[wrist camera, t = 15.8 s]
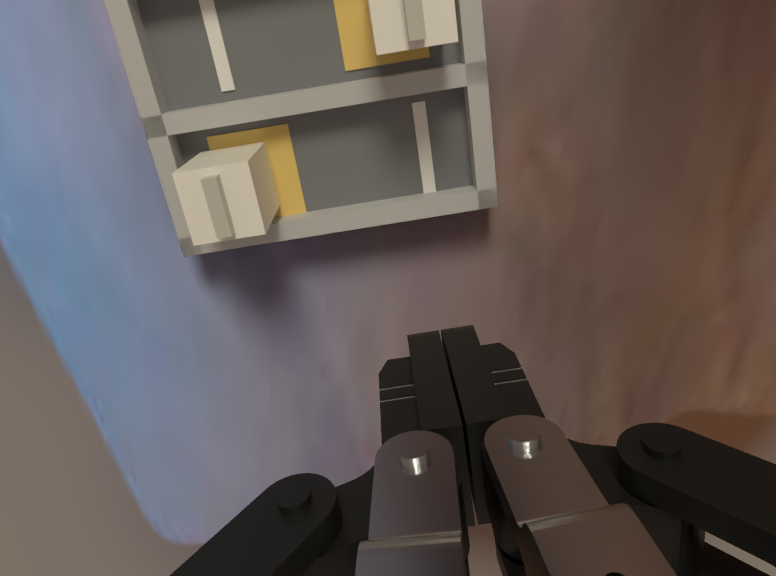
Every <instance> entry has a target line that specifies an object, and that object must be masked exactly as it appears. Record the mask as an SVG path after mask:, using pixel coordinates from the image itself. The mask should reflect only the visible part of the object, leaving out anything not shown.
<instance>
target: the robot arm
mask: <svg viewBox="0 0 776 576" xmlns="http://www.w3.org/2000/svg"><path fill="white" fill-rule="evenodd" d="M407 337H408V344H409V351H410V357H404V358H398V359H391V360H387V362H386V363H385V365H384V366H383V368H382V370H381V371H380V373H379V388H380V411H381V433H382V446H381V447H380V448H379V450H378V451H377V454H376V457H375V465H374V466H373V467H372V468H371V469H370V470H369V471H367V472H366V473H365V474H363V475H362V476H360V477H358V478H356V479H354V480H352V481H350V482H347V483H345V484H342V485H340V486H337V487H334V485H333V484H332V482H331V481H329V480H328V479H327V478H325V477H323V476H321V475H318V474H312V473H303V474H296V475H291V476H288V477H286V478H283V479H281V480H279V481H277V482H275V483H274V484H272V485H271V486H270V487H268V488H267V489H266V490H265V491H264V492H262V493H261V494H260V495H259V496H258V497H257V498H256V499H255V500H254V501H252V502H251V503H250V504H249V505H248V506H247V507H246V508H245V509H244V510H242V511H241V512H240V513H239V514H238V515H237V516H236V517H235V518H233V519H232V520H231V521H230V522H229V523H228V524H227V525H226V526H225V527H223V528H222V529H221V530H220V531H219V532H218V533H217V534H216V535H214V536H213V537H212V538H211V539H210V540H209V541H208V542H207V543H206V544H204V545H203V546H202V547H201V548H200V549H199V550H198V551H197V552H195V554H193V555H192V556H191V557H190V558H189V559H188V560H187V561H186V562H184V563H183V564H182V565H181V566H180V567H179V568H178V569H177V570H175V571H174V572H173V573H172V574H171V575H170V576H470V571H469V563H468V554H469V549H470V544H469V536H468V528H467V527H468V526H475V521H474V513H473V505H472V499H473V503H474V507H475V512H476V516H477V520H478V524H479V525H480V524H487V523H491V524H492V529H493V533H494V537H495V546H496V555H497V560H498V563H499V566H500V569H501V572H502V575H503V576H770V575H768V574H766V573H764V572H762V571H760V570H758V569H756V568H754V567H752V566H750V565H749V564H747V563H745V562H743V561H741V560H739V559H737V558H735V557H733V556H731V555H729V554H727V553H725V552H723V551H721V550H720V549H717V548H716V547H714V546H712V545H710V544H708V543H706V542H704V539H705V531H706V532H708V533H710V534H712V535H714V536H716V537H718V538H720V539H722V540H724V541H726V542H728V543H730V544H732V545H734V546H736V547H738V548H740V549H742V550H744V551H746V552H748V553H750V554H752V555H754V556H756V557H758V558H760V559H762V560H764V561H766V562H768V563H770V564H771V565H773V566H774V567H776V464H773V463H771V462H768V461H766V460H763V459H761V458H758V457H755V456H753V455H750V454H748V453H745V452H743V451H740V450H738V449H735V448H732V447H730V446H727V445H725V444H722V443H719V442H717V441H714V440H712V439H709V438H707V437H704V436H701V435H699V434H696V433H694V432H691V431H688V430H686V429H684V428H681V427H678V426H674V425H669V424H663V423H645V424H639V425H636V426H633V427H631V428H629V429H627V430H625V431H624V432H623V433H622V434H621V435H620V436H619V438H618V440H617V447H615V446H602V445H590V444H584V443H579V442H575V441H572V440H570V439H567V438H566V436H565V434H564V433H563V431H562V430H561V429H560V428H559V427H558V426H557V425H556V424H555V423H553V422H551V421H550V420H547V419H545V416H544V414H543V412H542V410H541V408H540V406H539V404H538V402H537V399H536V397H535V395H534V393H533V391H532V389H531V387H530V385H529V382H528V380H526V376H525V374H524V372H523V370H522V369H521V365H520V363H519V361H518V359H517V357H516V355H515V353H514V352H513V351H511V350H510V349H508V348H507V347H505V346H504V345H502V344H501V343H494V344H488V345H480V342H479V340H478V337H477V334H476V332H475V329H474V327H473V325H469V326H463V327H456V328H450V329H443V330H441V337H442V342H441V338H440V334H439V331H431V332H425V333H418V334H412V335H407ZM442 345H443V346H442ZM471 494H472V497H471Z"/></svg>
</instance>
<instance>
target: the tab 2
mask: <svg viewBox="0 0 776 576" xmlns="http://www.w3.org/2000/svg"><path fill="white" fill-rule="evenodd" d="M367 4H368V10H369V17H370V24H371V30H372V37H373V43H374V50H375V53H376V55H381V54H387V53H393V52H399V51H405V50H411V49H417V48H423V47H429V46H435V45H441V44H447V43H453V42H458V32H457V22H456V11H455V1H454V0H367Z"/></svg>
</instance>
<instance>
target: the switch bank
mask: <svg viewBox="0 0 776 576" xmlns="http://www.w3.org/2000/svg"><path fill="white" fill-rule="evenodd" d="M454 1H455V11H456V22H457V32H458V42H453V43H447V44H441V45H435V46H429V47H423V48H417V49H411V50H405V51H399V52H393V53H387V54H381V55H376V53H375V50H374V43H373V37H372V30H371V24H370V17H369V10H368V4H367V0H104V2H105V6H106V9H107V12H108V15H109V18H110V22H111V25H112V28H113V31H114V34H115V38H116V41H117V44H118V47H119V50H120V54H121V57H122V60H123V63H124V66H125V70H126V73H127V76H128V79H129V82H130V86H131V89H132V92H133V95H134V98H135V102H136V105H137V108H138V111H139V114H140V118H141V121H142V124H143V127H144V130H145V133H146V137H147V140H148V143H149V146H150V149H151V153H152V156H153V159H154V162H155V165H156V169H157V172H158V175H159V178H160V181H161V185H162V188H163V191H164V194H165V197H166V201H167V204H168V207H169V210H170V213H171V217H172V220H173V223H174V226H175V229H176V233H177V236H178V239H179V242H180V245H181V249H182V252H183V255H184V257H185V256H192V255H198V254H204V253H210V252H217V251H223V250H229V249H235V248H242V247H248V246H254V245H260V244H267V243H273V242H279V241H286V240H292V239H298V238H304V237H311V236H317V235H323V234H329V233H336V232H342V231H348V230H354V229H361V228H367V227H373V226H379V225H386V224H392V223H398V222H404V221H411V220H417V219H423V218H429V217H436V216H442V215H448V214H454V213H461V212H467V211H473V210H480V209H486V208H492V207H498V198H497V186H496V174H495V161H494V149H493V137H492V125H491V112H490V100H489V88H488V76H487V63H486V51H485V39H484V27H483V15H482V2H481V0H454ZM259 142H266V147H267V151H268V155H269V159H270V164H271V168H272V172H273V177H274V181H275V185H276V189H277V194H278V198H279V202H280V206H279V208H278V210H277V212H276V214H275V216H274V218H273V220H272V222H271V224H270V226H269V229H268V231H267V233H266V234H264V235H258V236H251V237H245V238H239V239H233V240H226V241H220V242H214V243H208V244H201V245H195V246H194V245H193V242H192V239H191V235H190V232H189V229H188V226H187V222H186V219H185V216H184V212H183V209H182V206H181V202H180V199H179V196H178V193H177V189H176V186H175V183H174V179H173V176H172V173H173V172H175V171H176V170H177V169H179V168H180V167H181V166H183V165H184V164H185V163H187V162H188V161H189V160H191V159H192V158H194V157H195V156H196V155H198V154H199V153H200V152H204V151H210V150H216V149H222V148H228V147H235V146H241V145H247V144H253V143H259Z"/></svg>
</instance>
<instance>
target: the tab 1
mask: <svg viewBox="0 0 776 576" xmlns="http://www.w3.org/2000/svg"><path fill="white" fill-rule="evenodd" d="M172 176H173V179H174V183H175V186H176V189H177V193H178V196H179V199H180V202H181V206H182V209H183V212H184V216H185V219H186V222H187V226H188V229H189V232H190V235H191V239H192V242H193V245H194V246H195V245H201V244H208V243H214V242H220V241H226V240H233V239H239V238H245V237H251V236H258V235H264V234H266V233H267V231H268V229H269V226H270V224H271V222H272V220H273V218H274V216H275V214H276V212H277V210H278V208H279V206H280V202H279V198H278V194H277V189H276V185H275V181H274V177H273V172H272V168H271V164H270V159H269V155H268V151H267V147H266V142H259V143H253V144H247V145H241V146H235V147H228V148H222V149H216V150H210V151H204V152H200V153H199V154H198V155H196V156H195V157H194V158H192V159H191V160H189V161H188V162H187V163H185V164H184V165H183V166H181V167H180V168H179V169H177V170H176V171H175V172H173V173H172Z"/></svg>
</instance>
